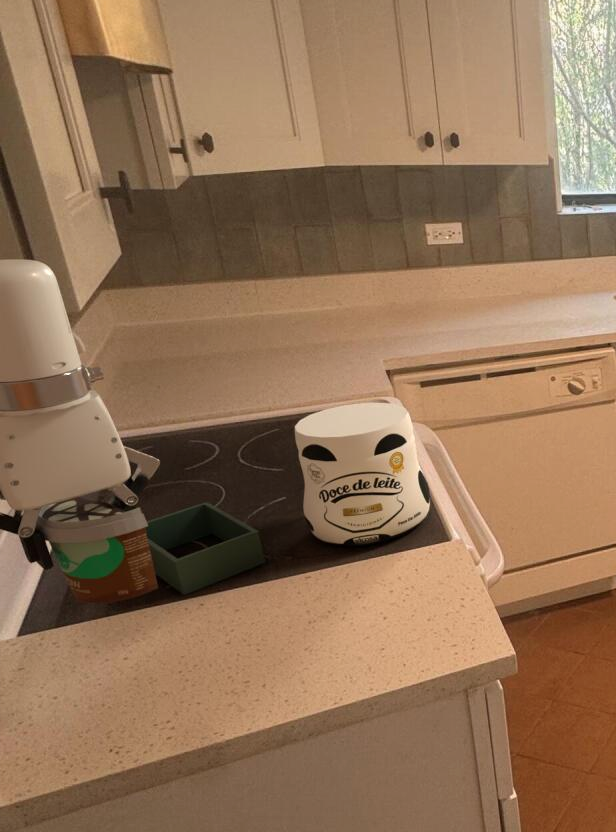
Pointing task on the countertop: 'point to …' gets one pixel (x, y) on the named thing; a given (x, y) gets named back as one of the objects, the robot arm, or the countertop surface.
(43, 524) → the food container
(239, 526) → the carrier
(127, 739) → the countertop surface
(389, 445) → the milk container
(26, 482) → the robot arm
